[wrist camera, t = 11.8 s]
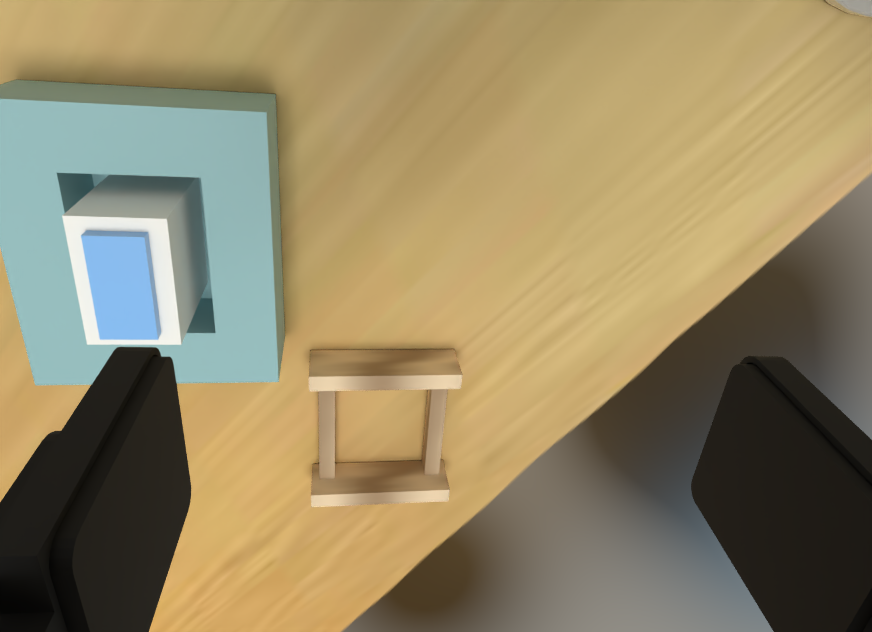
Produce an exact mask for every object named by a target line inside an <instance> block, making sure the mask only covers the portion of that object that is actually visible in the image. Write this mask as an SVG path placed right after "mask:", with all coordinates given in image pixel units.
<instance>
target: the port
mask: <svg viewBox="0 0 872 632" xmlns="http://www.w3.org/2000/svg"><path fill="white" fill-rule="evenodd" d="M108 175H138V176H167V177H195V178H199V184H200V195H201V206H202V218H203V229H204V240H205V251H206V263H207V274H208V282H207V285H206V287H205V290H204V292H203V294H202V297H201V299H200V301H199V304H198V306H197V309H196V311H195V313H194V316H193V318H192V321H191V323H190V325H189V328H188V330H187V333H186V335H185V337H184V340H183V342H182V344H181V345H87V341H86V336H85V331H84V326H83V321H82V316H81V311H80V305H79V300H78V295H77V290H76V285H75V280H74V274H73V269H72V264H71V259H70V254H69V249H68V243H67V238H66V233H65V228H64V223H63V218H62V215H63V214H65V213H66V212H67V211H68V210H69V209H70V208H71V207H73V206H74V205H75V204H76V203H77V202H78V201H80V200H81V199H82V198H83V197H84V196H85V195H86V194H88V193H89V192H90V191H91V190H92V189H93V188H94V187H96V186H97V185H98V184H99V183H100V182H101V181H103V180H104V179H105V178H106V177H107V176H108ZM0 248H1V252H2V256H3V260H4V264H5V268H6V272H7V275H8V279H9V283H10V287H11V291H12V295H13V299H14V303H15V307H16V311H17V315H18V319H19V323H20V327H21V331H22V335H23V338H24V342H25V346H26V350H27V354H28V358H29V362H30V366H31V370H32V374H33V378H34V382H35V385H90V384H92V383H93V382H94V380H95V379H96V377H97V376H98V374H99V373H100V371H101V370H102V368H103V366H104V365H105V363H106V362H107V360H108V359H109V357H110V356H111V354H112V353H113V351H114V350H115V349H116V348H117V347H156V348H158V349H159V351H160V353H161V357H171V358H172V360H173V364H174V370H175V377H176V383H235V382H279V376H280V368H281V361H282V354H283V347H284V340H285V323H284V297H283V271H282V244H281V218H280V192H279V166H278V140H277V114H276V94H265V93H247V92H229V91H211V90H193V89H175V88H157V87H139V86H121V85H103V84H85V83H67V82H49V81H31V80H13V81H10V82H7V83H4V84H1V85H0Z"/></svg>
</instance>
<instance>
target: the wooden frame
mask: <svg viewBox="0 0 872 632" xmlns="http://www.w3.org/2000/svg"><path fill="white" fill-rule="evenodd" d="M461 383H462V372H461V369H460V366H459V363H458V360H457V356H456V353H455V350H454V349H421V350H310V366H309V391H319V464H312V486H311V507H327V506H350V505H372V504H395V503H417V502H440V501H448V500H449V491H450V489H449V485H448V480H447V476H446V471H445V467H444V462H443V460H440V459H441V449H442V439H443V429H444V419H445V409H446V399H447V389H461ZM422 389H428V391H427V403H426V415H425V427H424V439H423V452H422V460H421V461H391V462H362V463H335V391H360V390H422Z"/></svg>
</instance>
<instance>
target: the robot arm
mask: <svg viewBox="0 0 872 632" xmlns="http://www.w3.org/2000/svg"><path fill="white" fill-rule="evenodd" d="M825 1H826V2H828V3H829V4H830V5H832V6H834V7H836V8H838V9H840V10H842V11H844V12H846V13H849V14H854V15H859V16H863V17H872V0H825ZM691 490H692V495H693V499H694V501H695V503H696V505H697V506H698V508H699V510H700V511H701V513H702V514H703V516H704V518H705V519H706V521H707V523H708V524H709V526H710V527H711V529H712V531H713V533H714V534H715V536H716V537H717V539H718V541H719V542H720V544H721V546H722V547H723V549H724V551H725V552H726V554H727V555H728V557H729V559H730V560H731V562H732V564H733V565H734V567H735V569H736V570H737V572H738V574H739V575H740V577H741V579H742V580H743V582H744V583H745V585H746V587H747V588H748V590H749V592H750V593H751V595H752V597H753V598H754V600H755V602H756V603H757V605H758V606H759V608H760V610H761V611H762V613H763V615H764V616H765V618H766V620H767V621H768V623H769V625H770V626H771V628H772V629H773V631H774V632H872V440H871V439H870V438H869V437H868V436H867V435H866V434H865V433H864V432H863V431H862V430H861V429H860V428H859V427H857V426H856V425H855V424H854V423H853V422H852V421H851V420H850V419H849V418H848V417H847V416H846V415H845V414H844V413H843V412H842V411H841V410H839V409H838V408H837V407H836V406H835V405H834V404H833V403H832V402H831V401H830V400H829V399H828V398H827V397H826V396H825V395H823V393H821V392H820V391H819V390H818V389H817V388H816V387H815V386H814V385H813V384H812V383H811V382H810V381H809V380H807V379H806V377H804V376H803V375H802V374H801V373H800V372H799V371H798V370H797V369H796V368H795V367H794V366H793V365H792V364H791V363H790V362H788V360H786V359H784V358H783V357H775V356H774V357H773V356H748V357H745V358H744V359H743V360H742V361H741V363H740V364H738V365H735V366H734V367H733V368H732V370H731V372H730V375H729V378H728V380H727V383H726V386H725V389H724V392H723V394H722V397H721V400H720V403H719V405H718V408H717V411H716V414H715V417H714V420H713V422H712V426H711V428H710V431H709V434H708V437H707V439H706V442H705V445H704V448H703V450H702V453H701V456H700V459H699V462H698V465H697V467H696V470H695V473H694V476H693V479H692V484H691ZM190 499H191V482H190V475H189V468H188V461H187V454H186V447H185V440H184V433H183V426H182V419H181V412H180V405H179V398H178V391H177V384H176V377H175V370H174V364H173V360H172V358H171V357H161V353H160V351H159V349H158V348H156V347H117V348H116V349H115V350H114V351H113V353H112V354H111V356H110V357H109V359H108V360H107V362H106V363H105V365H104V366H103V368H102V370H101V371H100V373H99V374H98V376H97V377H96V379H95V380H94V382H93V383H92V385H91V386H90V388H89V389H88V391H87V392H86V394H85V396H84V397H83V399H82V400H81V402H80V403H79V405H78V406H77V408H76V409H75V411H74V412H73V414H72V415H71V417H70V419H69V420H68V422H67V423H66V425H65V426H64V428H63V429H62V431H54V432H52V433H50V434H48V435H47V436H46V437H45V438H44V440H43V441H42V442H41V443H40V445H39V446H38V448H37V449H36V451H35V452H34V454H33V455H32V457H31V458H30V460H29V461H28V463H27V464H26V465H25V467H24V468H23V470H22V471H21V473H20V474H19V476H18V477H17V479H16V480H15V482H14V483H13V485H12V486H11V488H10V489H9V491H8V492H7V493H6V495H5V496H4V498H3V499H2V501H1V502H0V632H149V629H150V626H151V623H152V620H153V617H154V614H155V611H156V608H157V604H158V601H159V598H160V595H161V592H162V589H163V586H164V583H165V580H166V577H167V574H168V571H169V568H170V565H171V562H172V558H173V555H174V552H175V549H176V546H177V543H178V540H179V537H180V534H181V531H182V528H183V525H184V522H185V519H186V516H187V513H188V509H189V505H190Z"/></svg>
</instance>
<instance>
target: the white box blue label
mask: <svg viewBox="0 0 872 632" xmlns="http://www.w3.org/2000/svg"><path fill="white" fill-rule="evenodd" d="M62 218H63V223H64V228H65V233H66V238H67V243H68V249H69V254H70V259H71V264H72V269H73V274H74V280H75V285H76V290H77V295H78V300H79V305H80V311H81V316H82V321H83V326H84V331H85V336H86V341H87V345H181V344H182V342H183V340H184V337H185V335H186V333H187V330H188V328H189V325H190V323H191V321H192V318H193V316H194V313H195V311H196V309H197V306H198V304H199V301H200V299H201V297H202V294H203V292H204V290H205V287H206V285H207V282H208V274H207V263H206V251H205V240H204V229H203V218H202V206H201V195H200V184H199V178H195V177H167V176H138V175H108V176H107V177H106V178H105V179H104V180H103V181H101V182H100V183H99V184H98V185H97V186H96V187H94V188H93V189H92V190H91V191H90V192H89V193H88V194H86V195H85V196H84V197H83V198H82V199H81V200H80V201H78V202H77V203H76V204H75V205H74V206H73V207H71V208H70V209H69V210H68V211H67V212H66V213H65V214H63V215H62Z"/></svg>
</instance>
